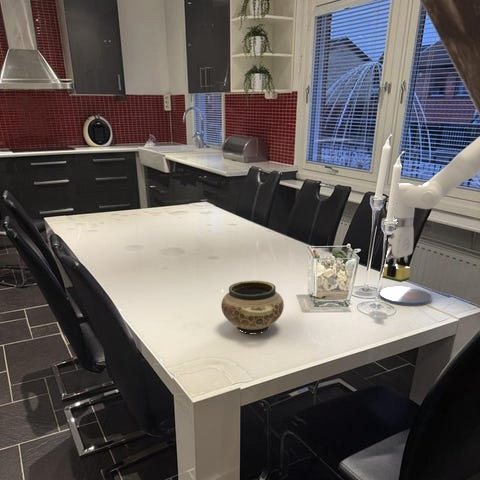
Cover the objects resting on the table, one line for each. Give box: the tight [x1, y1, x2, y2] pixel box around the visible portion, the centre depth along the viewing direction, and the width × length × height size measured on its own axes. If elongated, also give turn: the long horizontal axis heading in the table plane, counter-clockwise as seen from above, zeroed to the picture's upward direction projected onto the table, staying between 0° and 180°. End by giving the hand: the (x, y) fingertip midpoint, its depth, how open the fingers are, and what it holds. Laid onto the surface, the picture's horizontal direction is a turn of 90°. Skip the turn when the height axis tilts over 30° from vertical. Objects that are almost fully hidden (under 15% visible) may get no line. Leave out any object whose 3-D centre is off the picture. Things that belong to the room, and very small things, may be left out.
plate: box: [379, 286, 433, 307], centre depth 161 cm, size 17×17×1 cm
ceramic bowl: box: [220, 280, 285, 334], centre depth 135 cm, size 24×18×15 cm
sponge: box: [381, 263, 411, 283], centre depth 162 cm, size 8×5×4 cm, turn 39°
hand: (395, 274), depth 162 cm, fingers closed on sponge, 5 cm apart
